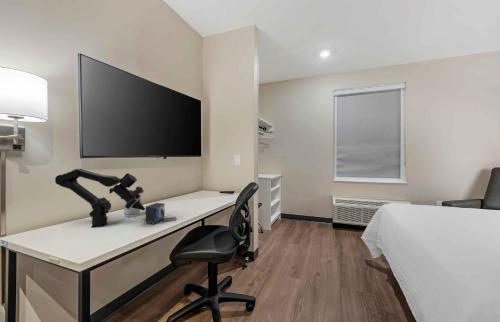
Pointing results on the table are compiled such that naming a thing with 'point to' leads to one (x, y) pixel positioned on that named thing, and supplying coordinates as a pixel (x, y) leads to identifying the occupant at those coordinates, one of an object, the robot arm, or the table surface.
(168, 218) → the pad
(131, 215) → the supplement tub
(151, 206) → the small box
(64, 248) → the table surface
